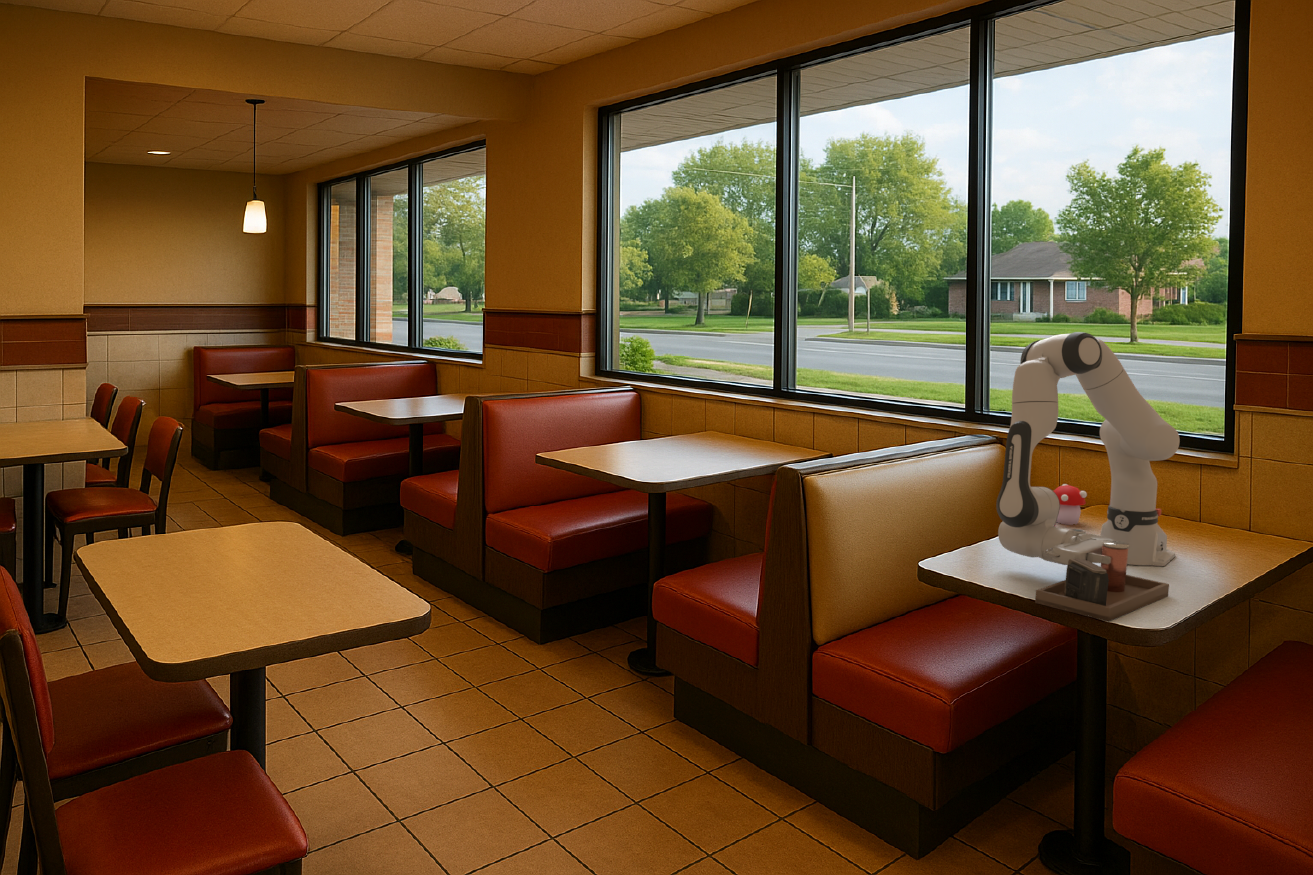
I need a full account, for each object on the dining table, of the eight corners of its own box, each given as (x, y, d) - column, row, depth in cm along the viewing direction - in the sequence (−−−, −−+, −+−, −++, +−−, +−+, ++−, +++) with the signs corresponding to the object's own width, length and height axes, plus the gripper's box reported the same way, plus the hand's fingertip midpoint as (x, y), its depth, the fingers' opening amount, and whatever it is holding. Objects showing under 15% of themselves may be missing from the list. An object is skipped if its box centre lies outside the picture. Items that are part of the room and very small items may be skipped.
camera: (1109, 614, 215) (1113, 570, 214) (1084, 614, 215) (1088, 570, 214) (1082, 598, 227) (1086, 557, 225) (1059, 598, 226) (1062, 557, 225)
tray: (1097, 580, 242) (1098, 568, 242) (1168, 596, 229) (1169, 583, 229) (1035, 602, 223) (1035, 590, 223) (1108, 621, 210) (1109, 608, 210)
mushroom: (1085, 527, 300) (1088, 489, 298) (1047, 524, 304) (1049, 486, 302) (1083, 520, 310) (1086, 483, 308) (1046, 517, 314) (1049, 480, 312)
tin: (1105, 583, 235) (1109, 539, 234) (1129, 589, 231) (1133, 544, 230) (1093, 588, 232) (1097, 542, 230) (1118, 593, 227) (1122, 547, 226)
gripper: (1041, 539, 233) (1098, 551, 223) (1082, 528, 246) (1138, 539, 236) (1039, 565, 234) (1096, 578, 224) (1081, 552, 247) (1136, 564, 237)
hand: (1118, 558), depth 230 cm, fingers closed on tin, 6 cm apart
